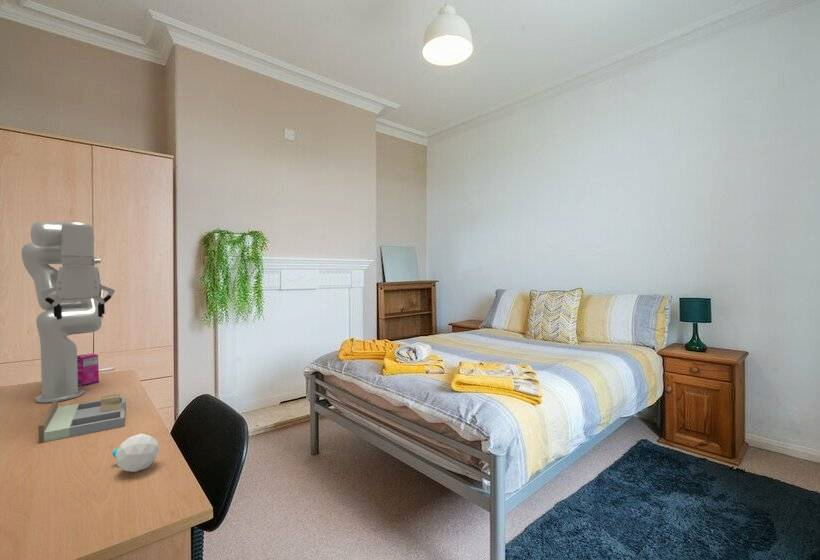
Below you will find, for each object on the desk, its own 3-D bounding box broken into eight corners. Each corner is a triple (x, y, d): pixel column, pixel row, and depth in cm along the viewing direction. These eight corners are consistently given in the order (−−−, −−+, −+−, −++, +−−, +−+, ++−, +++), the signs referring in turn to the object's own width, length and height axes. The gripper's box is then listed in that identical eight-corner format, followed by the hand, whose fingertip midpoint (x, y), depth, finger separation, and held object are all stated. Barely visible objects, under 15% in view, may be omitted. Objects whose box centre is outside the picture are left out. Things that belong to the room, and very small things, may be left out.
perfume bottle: (126, 468, 79) (86, 467, 83) (158, 475, 86) (120, 473, 89) (144, 430, 84) (105, 430, 87) (173, 438, 90) (136, 438, 94)
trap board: (53, 415, 118) (53, 401, 117) (125, 403, 128) (125, 390, 128) (38, 442, 99) (38, 426, 99) (124, 426, 110) (124, 410, 110)
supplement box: (73, 384, 149) (73, 356, 149) (91, 380, 155) (90, 353, 155) (82, 386, 147) (81, 357, 147) (99, 382, 153) (99, 354, 152)
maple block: (102, 408, 117) (101, 395, 117) (120, 404, 120) (120, 392, 120) (101, 412, 114) (100, 399, 114) (119, 409, 116) (119, 396, 116)
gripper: (115, 263, 124) (116, 315, 124) (43, 263, 114) (44, 319, 115) (112, 262, 118) (114, 316, 118) (36, 262, 108) (38, 321, 108)
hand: (80, 317), depth 116 cm, fingers open, 9 cm apart
